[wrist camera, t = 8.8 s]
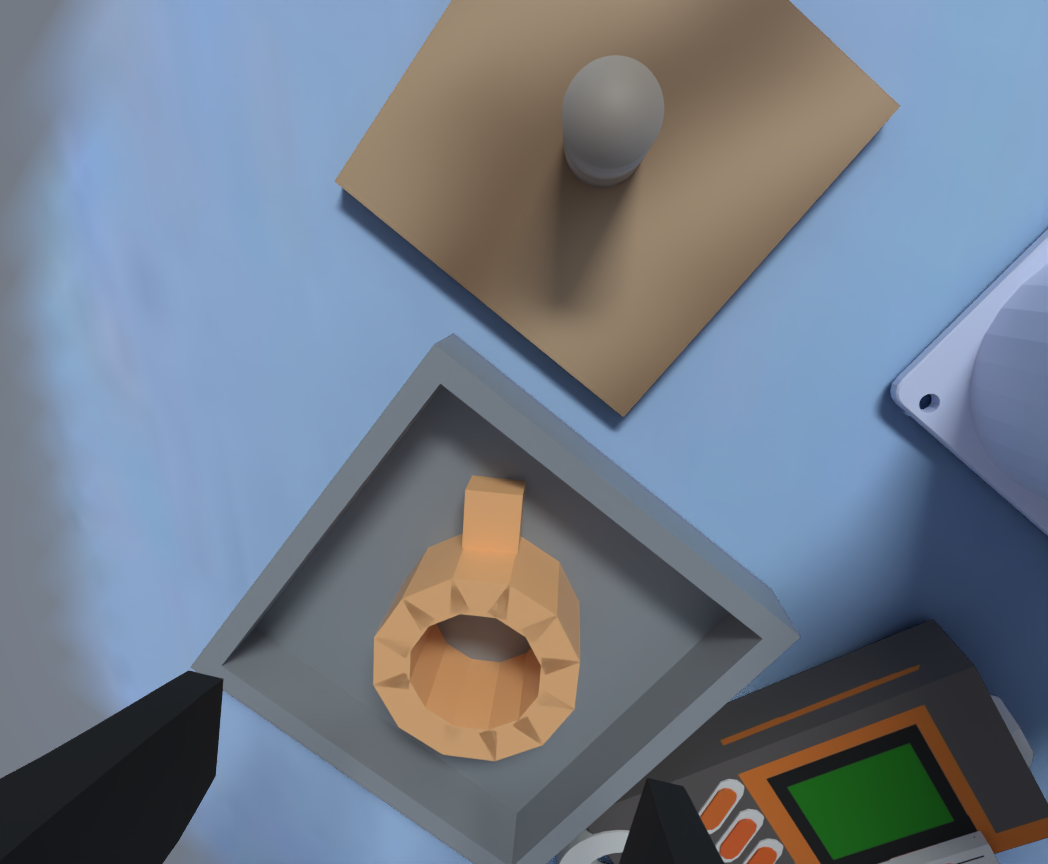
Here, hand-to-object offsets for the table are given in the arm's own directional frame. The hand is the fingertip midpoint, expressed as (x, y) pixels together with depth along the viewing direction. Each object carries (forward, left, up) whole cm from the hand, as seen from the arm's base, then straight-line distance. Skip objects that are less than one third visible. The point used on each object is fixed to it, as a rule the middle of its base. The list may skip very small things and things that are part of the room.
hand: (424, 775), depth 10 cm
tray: (-1, +2, -9) cm, 10 cm away
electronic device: (-12, +1, -10) cm, 16 cm away
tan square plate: (+5, -10, -9) cm, 15 cm away
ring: (-1, +2, -9) cm, 9 cm away
